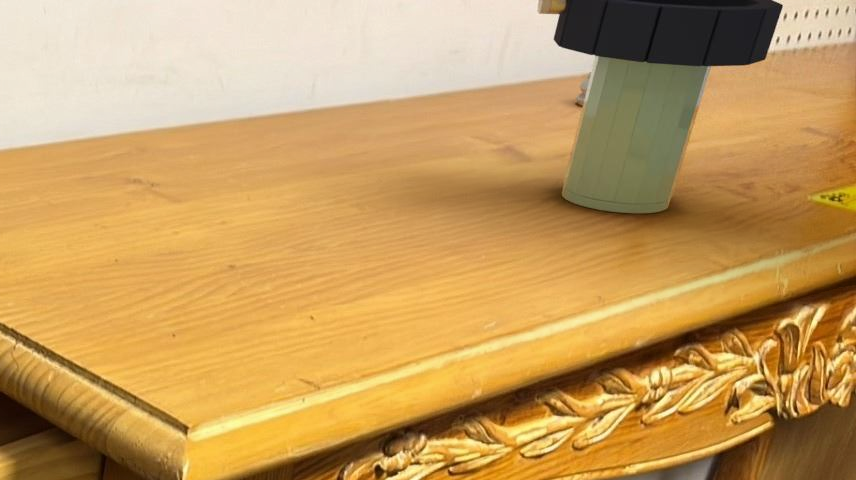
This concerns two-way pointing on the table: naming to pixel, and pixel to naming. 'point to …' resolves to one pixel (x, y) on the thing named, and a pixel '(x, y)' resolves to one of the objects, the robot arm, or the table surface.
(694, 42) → the ring
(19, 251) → the table surface
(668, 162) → the cup
